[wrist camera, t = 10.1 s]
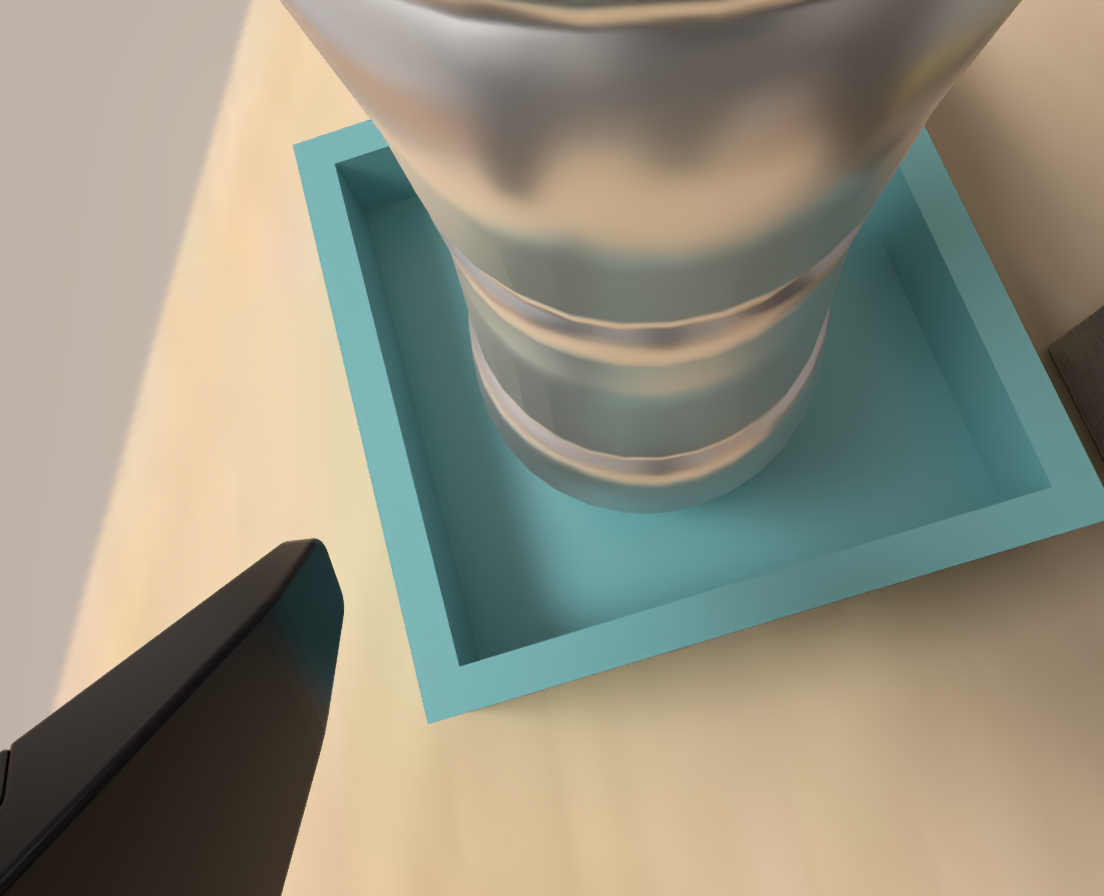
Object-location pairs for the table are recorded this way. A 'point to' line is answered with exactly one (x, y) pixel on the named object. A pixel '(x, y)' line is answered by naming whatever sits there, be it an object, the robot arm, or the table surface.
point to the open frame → (1085, 371)
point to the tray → (719, 524)
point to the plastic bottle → (648, 204)
